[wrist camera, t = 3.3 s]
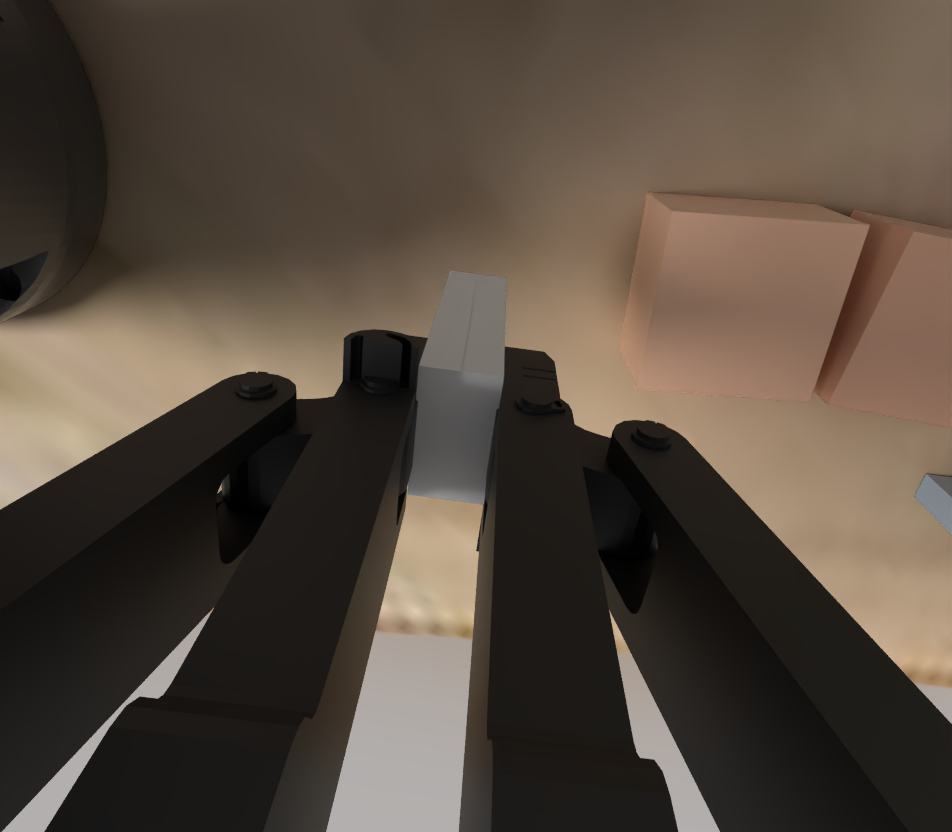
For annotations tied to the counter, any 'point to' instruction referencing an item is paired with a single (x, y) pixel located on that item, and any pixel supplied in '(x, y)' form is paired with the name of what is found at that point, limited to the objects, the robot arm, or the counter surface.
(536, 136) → the counter surface
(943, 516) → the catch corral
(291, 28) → the counter surface
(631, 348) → the terracotta tile
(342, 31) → the counter surface
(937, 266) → the terracotta tile
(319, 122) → the counter surface
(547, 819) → the robot arm
